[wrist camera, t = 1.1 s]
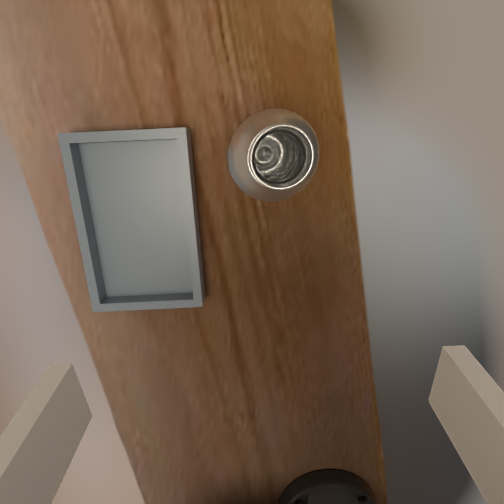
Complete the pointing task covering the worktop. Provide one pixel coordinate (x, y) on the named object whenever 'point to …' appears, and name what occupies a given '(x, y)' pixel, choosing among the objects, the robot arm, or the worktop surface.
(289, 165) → the plastic bottle
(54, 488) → the robot arm
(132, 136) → the tray
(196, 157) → the worktop surface
